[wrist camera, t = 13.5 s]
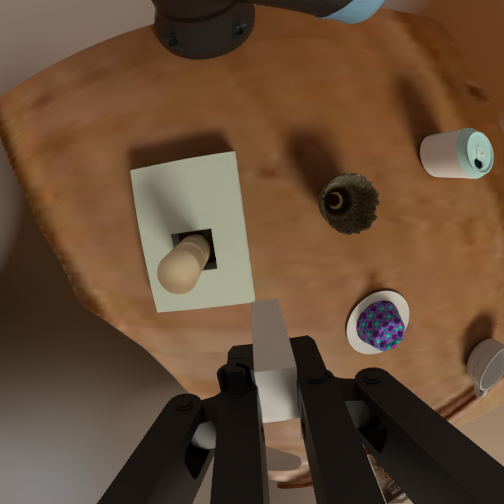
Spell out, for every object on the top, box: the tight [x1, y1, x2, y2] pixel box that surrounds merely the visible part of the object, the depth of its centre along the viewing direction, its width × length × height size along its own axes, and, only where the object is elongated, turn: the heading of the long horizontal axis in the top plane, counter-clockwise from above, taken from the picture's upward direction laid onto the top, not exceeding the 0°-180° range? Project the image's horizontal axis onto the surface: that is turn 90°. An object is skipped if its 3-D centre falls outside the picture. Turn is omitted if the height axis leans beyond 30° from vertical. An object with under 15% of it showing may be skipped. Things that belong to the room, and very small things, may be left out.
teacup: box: [467, 339, 504, 398], centre depth 45 cm, size 14×11×8 cm
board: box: [130, 151, 255, 312], centre depth 40 cm, size 20×14×4 cm
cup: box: [318, 173, 379, 235], centre depth 37 cm, size 8×7×8 cm
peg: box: [157, 234, 211, 294], centre depth 35 cm, size 4×4×14 cm
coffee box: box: [369, 455, 409, 504], centre depth 46 cm, size 9×6×16 cm
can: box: [420, 128, 493, 178], centre depth 34 cm, size 7×7×12 cm
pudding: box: [347, 291, 409, 354], centre depth 43 cm, size 12×12×5 cm
